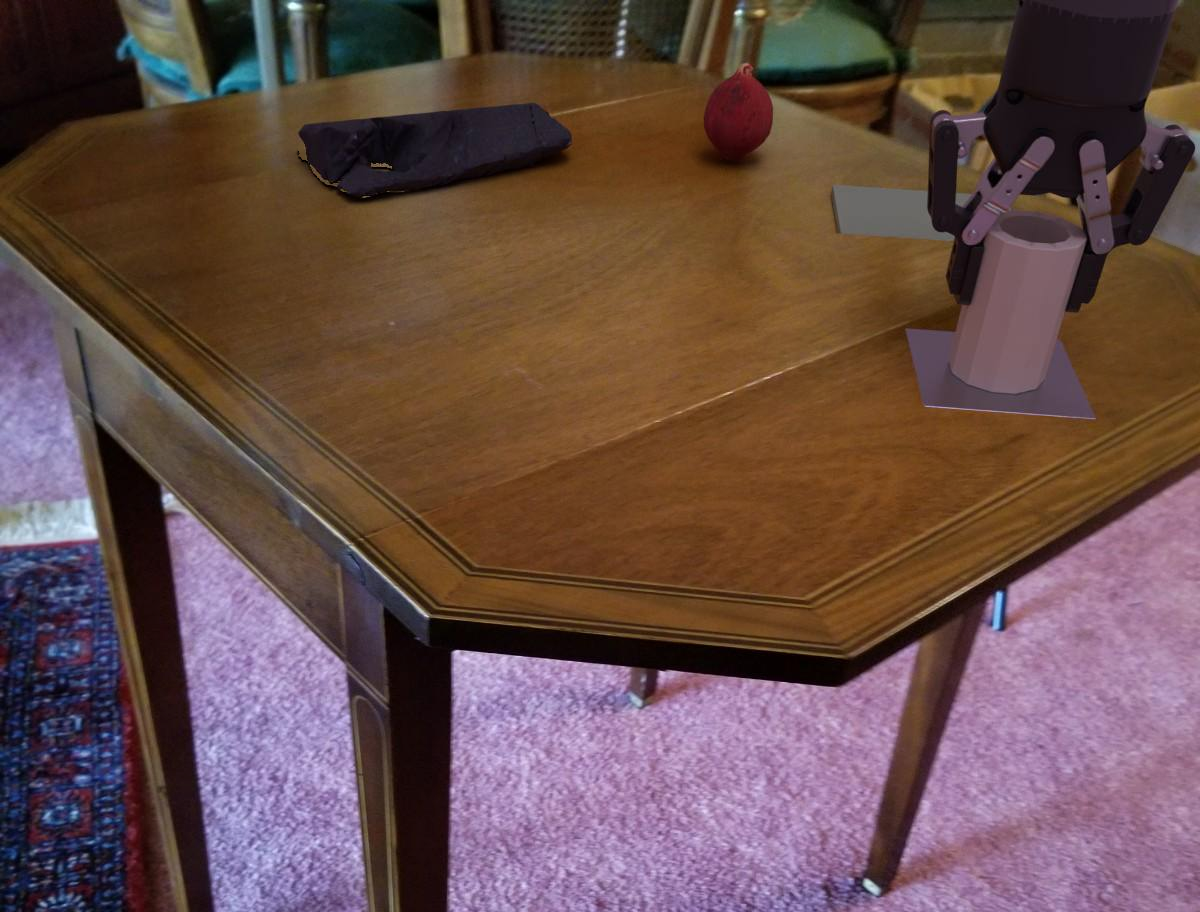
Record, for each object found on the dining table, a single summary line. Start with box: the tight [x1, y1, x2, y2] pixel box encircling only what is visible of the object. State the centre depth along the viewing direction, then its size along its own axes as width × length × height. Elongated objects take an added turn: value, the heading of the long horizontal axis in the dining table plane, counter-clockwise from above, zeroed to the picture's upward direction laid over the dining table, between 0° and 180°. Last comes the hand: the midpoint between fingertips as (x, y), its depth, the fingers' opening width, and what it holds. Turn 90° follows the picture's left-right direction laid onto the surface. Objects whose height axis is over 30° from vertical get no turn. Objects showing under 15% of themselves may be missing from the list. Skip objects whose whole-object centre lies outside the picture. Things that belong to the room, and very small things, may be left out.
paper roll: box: [949, 209, 1087, 394], centre depth 71 cm, size 6×6×9 cm
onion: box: [703, 62, 774, 163], centre depth 101 cm, size 6×6×8 cm
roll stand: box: [904, 327, 1097, 420], centre depth 72 cm, size 10×10×9 cm
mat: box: [830, 184, 1012, 242], centre depth 92 cm, size 14×18×1 cm
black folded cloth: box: [297, 102, 573, 198], centre depth 100 cm, size 15×22×5 cm
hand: (1014, 302), depth 71 cm, fingers closed on paper roll, 5 cm apart
